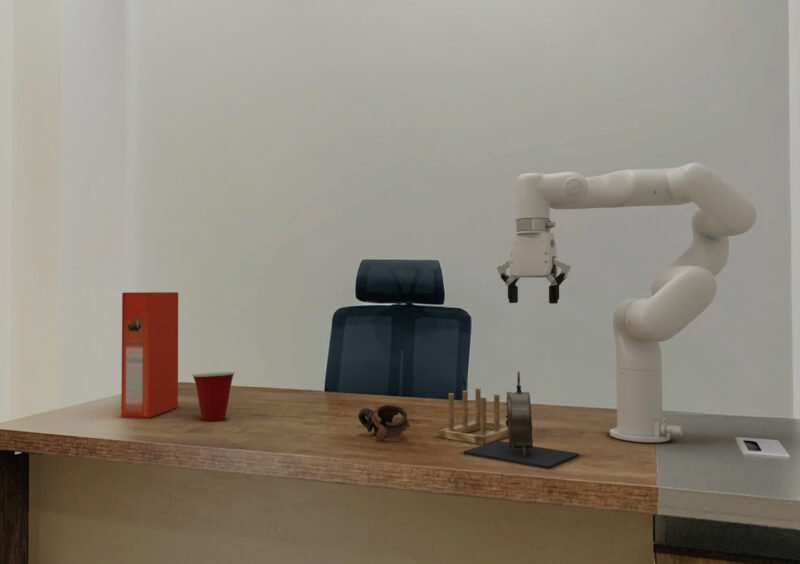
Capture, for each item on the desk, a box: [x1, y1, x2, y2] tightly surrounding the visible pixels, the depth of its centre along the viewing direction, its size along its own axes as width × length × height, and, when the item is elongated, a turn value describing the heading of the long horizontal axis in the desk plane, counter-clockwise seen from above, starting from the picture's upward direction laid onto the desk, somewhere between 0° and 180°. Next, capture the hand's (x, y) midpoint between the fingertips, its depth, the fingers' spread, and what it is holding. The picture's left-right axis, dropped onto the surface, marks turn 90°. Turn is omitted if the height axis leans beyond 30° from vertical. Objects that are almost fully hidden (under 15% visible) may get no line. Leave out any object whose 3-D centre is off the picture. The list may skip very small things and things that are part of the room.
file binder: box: [120, 291, 179, 419], centre depth 190 cm, size 8×17×32 cm, turn 168°
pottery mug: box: [357, 403, 411, 442], centre depth 159 cm, size 12×10×8 cm
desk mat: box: [463, 440, 580, 470], centre depth 143 cm, size 18×14×1 cm
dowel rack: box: [438, 387, 513, 445], centre depth 163 cm, size 11×18×10 cm, turn 139°
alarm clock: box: [504, 371, 534, 457], centre depth 143 cm, size 11×5×16 cm, turn 166°
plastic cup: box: [191, 371, 235, 422], centre depth 180 cm, size 11×11×12 cm
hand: (533, 303), depth 161 cm, fingers open, 9 cm apart
